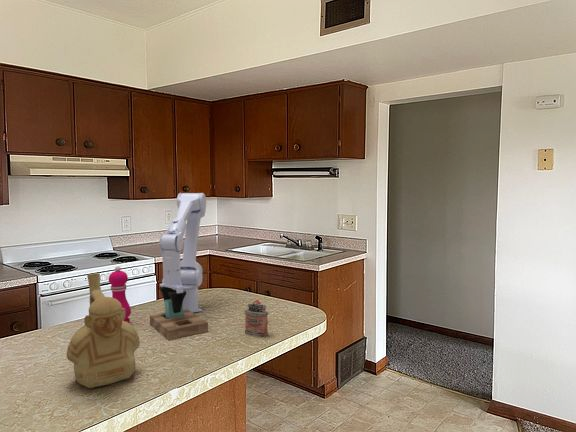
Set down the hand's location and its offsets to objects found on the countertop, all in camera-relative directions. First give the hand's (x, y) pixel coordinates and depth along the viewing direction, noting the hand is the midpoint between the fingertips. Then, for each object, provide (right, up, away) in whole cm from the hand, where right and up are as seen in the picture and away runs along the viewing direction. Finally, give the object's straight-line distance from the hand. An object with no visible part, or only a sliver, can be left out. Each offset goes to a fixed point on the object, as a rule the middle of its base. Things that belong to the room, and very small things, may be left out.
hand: (173, 309), depth 151 cm
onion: (+28, -5, +2) cm, 29 cm away
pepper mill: (-18, -5, 0) cm, 18 cm away
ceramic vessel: (-7, -9, -39) cm, 40 cm away
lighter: (+29, -6, -10) cm, 31 cm away
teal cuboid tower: (0, -5, +1) cm, 5 cm away
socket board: (+3, -5, -3) cm, 7 cm away
